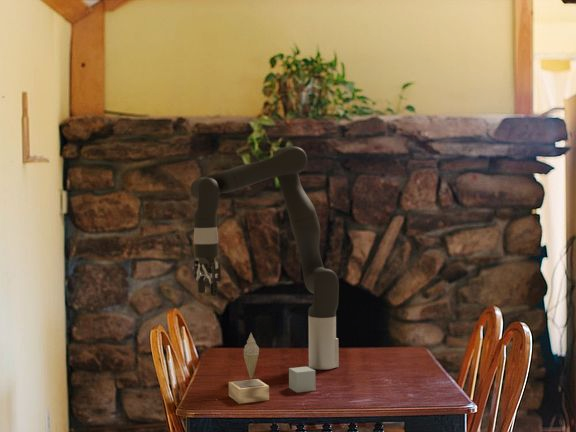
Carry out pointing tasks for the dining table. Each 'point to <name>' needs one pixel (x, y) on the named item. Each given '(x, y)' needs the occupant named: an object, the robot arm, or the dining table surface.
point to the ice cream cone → (251, 355)
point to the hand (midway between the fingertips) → (207, 294)
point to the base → (248, 391)
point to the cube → (302, 379)
